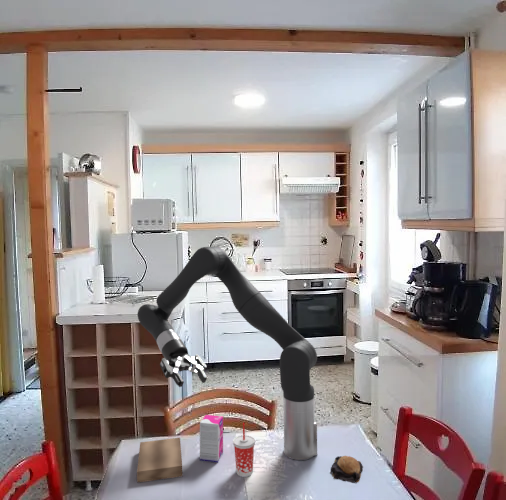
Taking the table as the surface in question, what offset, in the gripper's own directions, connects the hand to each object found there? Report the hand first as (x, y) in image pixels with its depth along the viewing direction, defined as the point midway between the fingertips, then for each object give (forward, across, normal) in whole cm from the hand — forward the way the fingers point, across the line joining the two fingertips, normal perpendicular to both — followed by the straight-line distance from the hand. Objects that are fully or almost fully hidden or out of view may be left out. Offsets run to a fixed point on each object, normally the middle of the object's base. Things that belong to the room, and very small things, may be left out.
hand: (193, 382), depth 127 cm
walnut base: (+11, -9, +19) cm, 24 cm away
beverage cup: (+27, +5, +8) cm, 29 cm away
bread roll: (+43, +26, -4) cm, 50 cm away
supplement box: (+17, +4, +14) cm, 22 cm away
